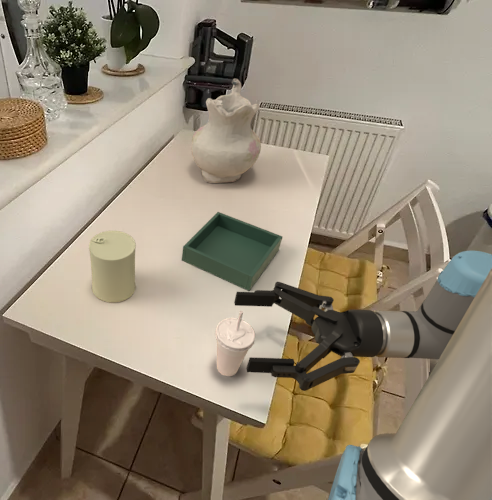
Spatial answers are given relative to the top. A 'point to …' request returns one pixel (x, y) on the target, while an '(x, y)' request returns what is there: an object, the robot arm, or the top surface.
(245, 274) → the bin
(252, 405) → the top surface
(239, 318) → the smoothie
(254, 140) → the ceramic pitcher
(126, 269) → the can
